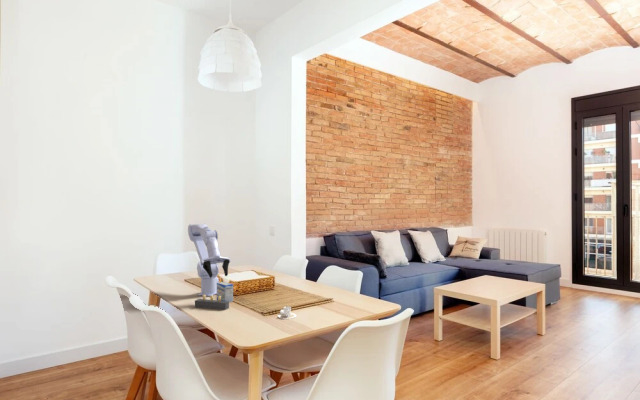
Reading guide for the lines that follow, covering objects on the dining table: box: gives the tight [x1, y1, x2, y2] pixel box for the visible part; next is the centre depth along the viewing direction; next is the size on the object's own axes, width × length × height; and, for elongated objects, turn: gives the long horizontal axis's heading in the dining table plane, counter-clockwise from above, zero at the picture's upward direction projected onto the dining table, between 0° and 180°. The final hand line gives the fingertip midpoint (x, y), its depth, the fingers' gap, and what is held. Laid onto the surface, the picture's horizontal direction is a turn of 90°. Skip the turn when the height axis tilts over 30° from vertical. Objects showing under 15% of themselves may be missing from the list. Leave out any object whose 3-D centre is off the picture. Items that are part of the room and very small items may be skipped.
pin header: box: [194, 295, 230, 311], centre depth 177 cm, size 3×16×6 cm, turn 73°
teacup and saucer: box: [277, 305, 297, 320], centre depth 164 cm, size 9×8×4 cm
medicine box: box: [216, 281, 234, 303], centre depth 188 cm, size 8×4×9 cm, turn 47°
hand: (219, 275), depth 184 cm, fingers open, 7 cm apart
